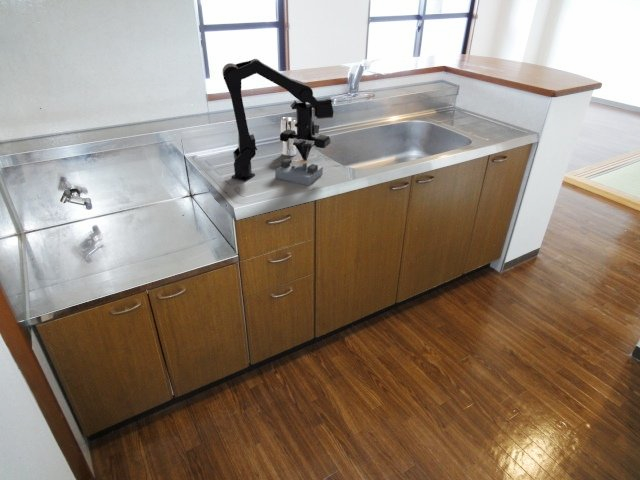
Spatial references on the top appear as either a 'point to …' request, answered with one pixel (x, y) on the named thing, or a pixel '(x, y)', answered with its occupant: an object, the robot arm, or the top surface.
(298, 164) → the breaker paddle
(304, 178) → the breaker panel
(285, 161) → the plug left
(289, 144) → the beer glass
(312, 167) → the plug right
